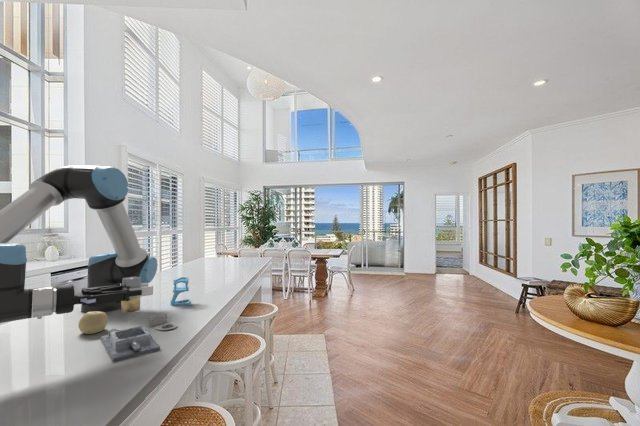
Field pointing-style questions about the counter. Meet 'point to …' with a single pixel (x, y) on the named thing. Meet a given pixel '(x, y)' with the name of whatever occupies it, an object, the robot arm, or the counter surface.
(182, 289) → the chair
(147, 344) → the coupling board
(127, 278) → the gold and grey cylinder
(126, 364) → the counter surface
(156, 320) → the bracket
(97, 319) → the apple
